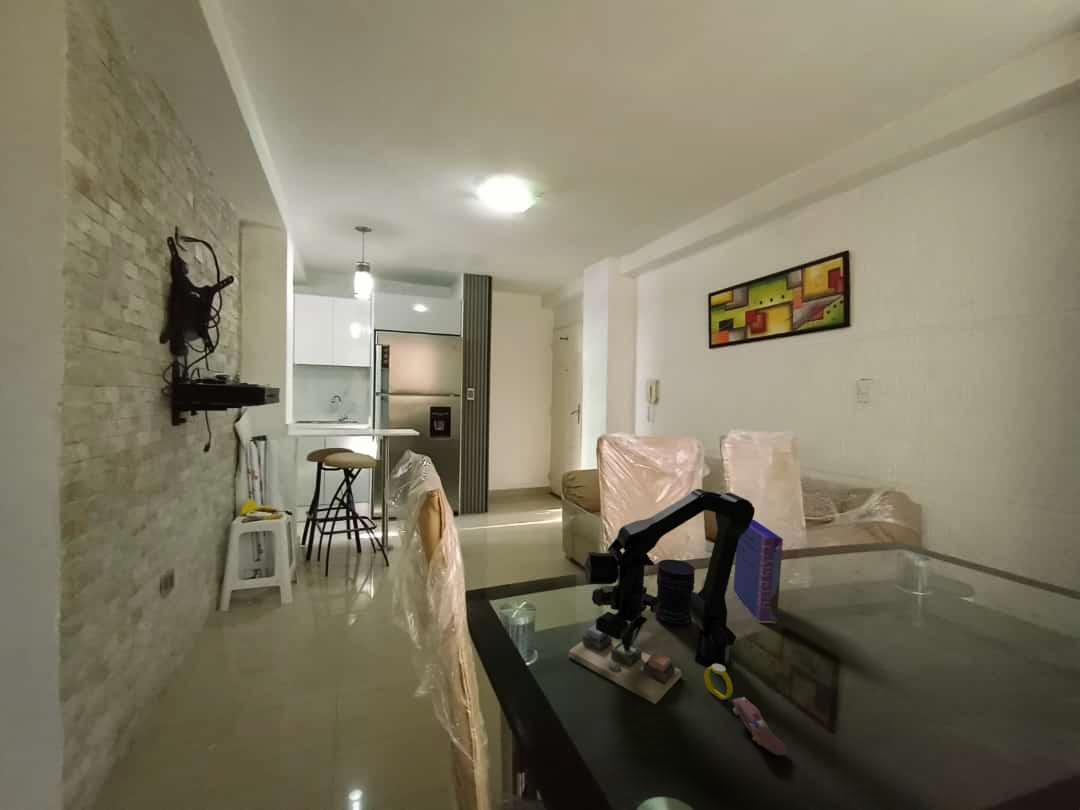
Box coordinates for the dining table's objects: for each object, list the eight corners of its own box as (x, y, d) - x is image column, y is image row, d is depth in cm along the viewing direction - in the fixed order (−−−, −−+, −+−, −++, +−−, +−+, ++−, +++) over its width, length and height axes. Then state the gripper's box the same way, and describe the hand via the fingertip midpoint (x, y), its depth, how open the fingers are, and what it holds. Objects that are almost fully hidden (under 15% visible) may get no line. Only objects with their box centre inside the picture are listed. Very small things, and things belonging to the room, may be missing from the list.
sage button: (636, 657, 104) (637, 649, 104) (629, 664, 101) (629, 655, 101) (623, 651, 106) (624, 643, 106) (615, 657, 103) (616, 649, 103)
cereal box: (776, 623, 125) (782, 538, 123) (759, 623, 125) (765, 537, 123) (748, 594, 142) (753, 518, 141) (733, 593, 142) (738, 518, 141)
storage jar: (696, 617, 126) (699, 565, 125) (686, 633, 118) (690, 577, 117) (660, 607, 131) (663, 556, 130) (649, 621, 123) (652, 567, 122)
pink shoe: (737, 724, 89) (724, 694, 88) (758, 714, 89) (745, 683, 88) (767, 767, 79) (752, 733, 78) (790, 755, 79) (775, 721, 78)
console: (680, 676, 100) (681, 661, 100) (655, 704, 91) (656, 687, 91) (597, 636, 114) (598, 623, 114) (568, 656, 105) (569, 642, 105)
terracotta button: (669, 667, 98) (670, 658, 98) (662, 674, 96) (663, 665, 96) (655, 660, 101) (655, 651, 100) (648, 667, 98) (648, 658, 98)
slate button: (607, 637, 109) (607, 629, 109) (599, 643, 106) (599, 634, 106) (595, 631, 111) (595, 623, 111) (587, 637, 109) (587, 629, 108)
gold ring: (701, 689, 96) (701, 661, 96) (710, 685, 98) (710, 658, 98) (726, 705, 91) (726, 676, 91) (734, 701, 93) (734, 671, 93)
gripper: (621, 561, 115) (618, 621, 116) (577, 583, 101) (574, 651, 102) (662, 575, 108) (658, 638, 108) (620, 601, 94) (616, 674, 94)
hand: (626, 649), depth 103 cm, fingers closed, pressing on sage button
